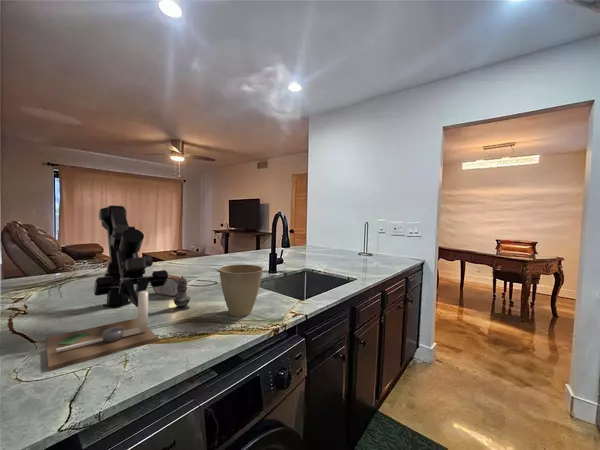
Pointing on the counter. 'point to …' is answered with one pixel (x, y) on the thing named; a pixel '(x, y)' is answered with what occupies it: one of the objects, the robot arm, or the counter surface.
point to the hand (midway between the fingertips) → (138, 306)
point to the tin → (168, 287)
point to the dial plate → (93, 349)
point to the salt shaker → (181, 296)
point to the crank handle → (118, 332)
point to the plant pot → (240, 287)
